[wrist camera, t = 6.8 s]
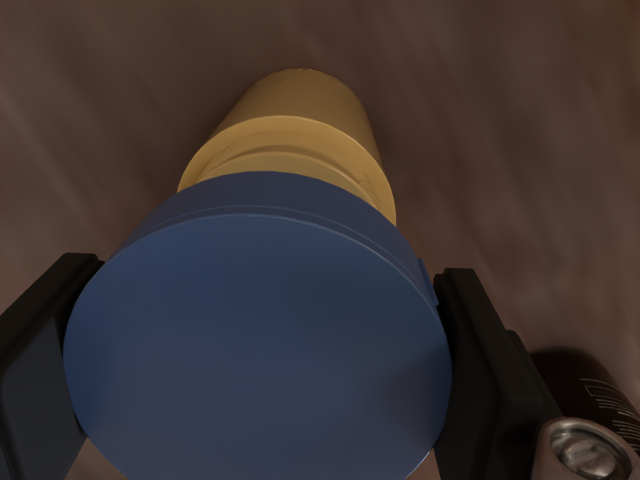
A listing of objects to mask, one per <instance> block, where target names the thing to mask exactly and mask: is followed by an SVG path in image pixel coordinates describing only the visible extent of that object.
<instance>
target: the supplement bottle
mask: <svg viewBox="0 0 640 480" xmlns="http://www.w3.org/2000/svg"><path fill="white" fill-rule="evenodd" d="M531 359H532V361H533V363H534V364H535V366H536V368H537V370H538V372H539V373H540V375H541V377H542V379H543V380H544V382H545V384H546V386H547V388H548V389H549V391H550V393H551V395H552V396H553V398H554V400H555V402H556V403H557V405H558V407H559V409H560V411H561V412H562V414H563V416H564V417H577V418H582V419H586V420H590V421H593V422H595V423H597V424H600V425H602V426H604V427H606V428H608V429H610V430H611V431H613V432H614V433H616V434H617V435H619V436H620V437H622V438H623V439H624V440H625V441H626V442H627V443H628V444H629V445H630V446H631V447H632V448H633V449H634V451H635V452H636V454H637V455H638V456H639V458H640V415H639V413H638V412H637V411H636V409H635V408H634V406H633V405H632V404H631V402H630V401H629V399H628V398H627V397H626V395H625V394H624V392H623V391H622V390H621V388H620V387H619V386H618V384H617V383H616V382H615V380H614V379H613V377H612V376H611V375H610V374H609V372H608V371H607V370H606V369H605V368H604V367H603V366H602V365H601V364H599V363H598V362H597V361H595V360H593V359H591V358H589V357H587V356H584V355H581V354H577V353H572V352H549V353H543V354H539V355H536V356H533V357H531Z"/></svg>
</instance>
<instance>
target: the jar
mask: <svg viewBox="0 0 640 480" xmlns="http://www.w3.org/2000/svg"><path fill="white" fill-rule="evenodd" d="M246 171H277V172H287V173H295V174H300V175H304V176H308V177H312V178H316V179H320V180H322V181H325V182H328V183H330V184H333V185H336V186H338V187H341V188H343V189H345V190H346V191H348V192H350V193H352V194H354V195H356V196H358V197H360V198H361V199H363V200H364V201H366V202H367V203H368V204H370V205H371V206H373V207H374V208H375V209H377V210H378V211H379V212H381V213H382V214H383V215H384V216H385V217H386V218H387V219H388V220H389V221H390V222H391V223H392V224H393V225H394V226H395V227H396V210H395V203H394V198H393V195H392V191H391V188H390V185H389V182H388V178H387V175H386V172H385V169H384V166H383V163H382V160H381V156H380V153H379V150H378V147H377V144H376V141H375V138H374V134H373V131H372V128H371V125H370V122H369V119H368V116H367V113H366V111H365V109H364V107H363V105H362V104H361V102H360V100H359V99H358V98H357V96H356V95H355V94H354V93H353V92H352V91H351V90H350V89H349V88H348V87H347V86H346V85H345V84H343V83H342V82H341V81H339V80H338V79H336V78H334V77H332V76H330V75H328V74H326V73H323V72H320V71H316V70H311V69H302V68H295V69H286V70H281V71H278V72H275V73H272V74H269V75H268V76H266V77H264V78H262V79H260V80H259V81H258V82H256V83H255V84H253V85H252V86H251V87H250V88H249V89H248V90H247V91H246V92H245V93H244V95H243V96H242V97H241V98H240V100H239V101H238V102H237V103H236V105H235V106H234V107H233V108H232V110H231V111H230V112H229V113H228V115H227V116H226V117H225V118H224V119H223V121H222V122H221V123H220V124H219V126H218V127H217V128H216V129H215V131H214V132H213V133H212V134H211V136H210V137H209V138H208V139H207V141H206V142H205V143H204V144H203V145H202V147H201V148H200V149H199V150H198V152H197V153H196V154H195V156H194V157H193V158H192V159H191V161H190V162H189V164H188V166H187V168H186V169H185V171H184V173H183V175H182V178H181V180H180V183H179V186H178V190H177V193H178V192H179V191H181V190H183V189H185V188H187V187H190V186H192V185H194V184H196V183H199V182H201V181H204V180H207V179H211V178H214V177H218V176H221V175H226V174H232V173H239V172H246Z"/></svg>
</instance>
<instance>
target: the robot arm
mask: <svg viewBox="0 0 640 480" xmlns="http://www.w3.org/2000/svg"><path fill="white" fill-rule="evenodd" d="M104 263H105V262H104V261H99V259H98V257H97V256H96V255H95V254H88V253H65V254H63V255H62V256H61V257H60V258H59V259H58V260H57V261H56V262H55V263H54V264H53V265H52V266H51V267H50V268H49V269H48V270H47V271H46V272H45V273H44V274H43V275H42V276H41V277H40V278H39V279H37V280H36V281H35V282H34V283H33V284H32V285H31V286H30V287H29V288H28V289H27V290H26V291H25V292H24V293H23V294H22V295H21V296H20V297H19V298H18V299H17V300H16V301H15V302H14V303H13V304H12V305H11V306H10V307H9V308H8V309H6V310H5V311H4V312H3V313H2V314H1V315H0V480H64V478H65V477H66V475H67V473H68V471H69V469H70V467H71V466H72V464H73V462H74V460H75V458H76V457H77V455H78V453H79V451H80V449H81V447H82V446H83V444H84V442H85V440H86V438H87V435H86V433H85V432H84V430H83V428H82V427H81V425H80V424H79V422H78V420H77V417H76V415H75V413H74V411H73V407H72V403H71V398H70V394H69V389H68V384H67V380H66V375H65V370H64V365H63V341H64V337H65V332H66V327H67V322H68V320H69V317H70V315H71V312H72V310H73V307H74V305H75V302H76V301H77V299H78V297H79V296H80V294H81V293H82V291H83V289H84V288H85V286H86V284H87V283H88V282H89V281H90V279H91V278H92V277H93V276H94V275H95V274H96V273H97V271H98V270H99V269H100V268H101V267H102V266H103V264H104ZM433 289H434V292H435V294H436V297H437V300H438V303H439V305H436V309H437V311H438V314H439V317H440V320H441V323H442V326H443V329H444V331H445V334H446V337H447V340H448V344H449V349H450V353H451V357H452V365H453V379H452V385H451V391H450V396H449V402H448V407H447V413H446V418H445V423H444V427H443V429H442V431H441V433H440V436H439V438H438V440H437V441H436V443H435V444H434V446H433V448H434V452H435V457H436V461H437V465H438V469H439V474H440V478H441V480H640V458H639V456H638V455H637V454H636V452H635V451H634V449H633V448H632V447H631V446H630V445H629V444H628V443H627V442H626V441H625V440H624V439H623V438H622V437H620V436H619V435H617V434H616V433H614V432H613V431H611V430H610V429H608V428H606V427H604V426H602V425H600V424H597V423H595V422H593V421H590V420H586V419H582V418H577V417H564V416H563V414H562V412H561V411H560V409H559V407H558V405H557V403H556V402H555V400H554V398H553V396H552V395H551V393H550V391H549V389H548V388H547V386H546V384H545V382H544V380H543V379H542V377H541V375H540V373H539V372H538V370H537V368H536V366H535V364H534V363H533V361H532V359H531V357H530V356H529V354H528V352H527V350H526V349H525V347H524V345H523V343H522V341H521V340H520V338H519V336H518V335H517V334H516V332H515V331H512V330H506V329H505V327H504V325H503V324H502V322H501V320H500V318H499V316H498V314H497V312H496V311H495V309H494V307H493V305H492V303H491V301H490V299H489V298H488V296H487V294H486V292H485V290H484V288H483V286H482V284H481V283H480V281H479V279H478V277H477V275H476V273H475V271H474V270H473V269H465V268H445V269H444V272H443V274H436V275H435V277H434V281H433Z"/></svg>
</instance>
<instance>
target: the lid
mask: <svg viewBox="0 0 640 480" xmlns="http://www.w3.org/2000/svg"><path fill="white" fill-rule="evenodd" d="M436 305H439V303H438V300H437V297H436V294H435V292H434V289H433V286H432V284H431V281H430V278H429V275H428V273H427V270H426V267H425V264H424V262H423V260H422V258H420V259H418V258H417V257H416V255H415V253H414V251H413V250H412V248H411V246H410V245H409V243H408V242H407V240H406V239H405V238H404V237H403V235H402V234H401V233H400V232H399V230H398V229H397V228H396V227H395V226H394V225H393V224H392V223H391V222H390V221H389V220H388V219H387V218H386V217H385V216H384V215H383V214H382V213H381V212H379V211H378V210H377V209H375V208H374V207H373V206H371V205H370V204H368V203H367V202H366V201H364V200H363V199H361V198H360V197H358V196H356V195H354V194H352V193H350V192H348V191H346V190H345V189H343V188H341V187H338V186H336V185H333V184H330V183H328V182H325V181H322V180H320V179H316V178H312V177H308V176H304V175H300V174H295V173H287V172H277V171H246V172H239V173H232V174H226V175H221V176H218V177H214V178H211V179H207V180H204V181H201V182H199V183H196V184H194V185H192V186H190V187H187V188H185V189H183V190H181V191H179V192H178V193H176V194H174V195H173V196H171V197H170V198H168V199H166V200H165V201H163V202H162V203H161V204H160V205H158V206H157V207H156V208H155V209H154V210H153V211H151V212H150V213H149V214H148V215H147V216H146V217H145V218H144V219H143V220H142V222H141V223H140V224H139V225H138V226H137V227H136V228H135V229H134V231H133V232H132V233H131V234H130V235H129V236H128V237H127V239H126V240H125V241H124V242H123V243H122V244H121V245H120V246H119V248H118V249H117V250H116V251H115V252H114V253H113V254H112V255H111V257H110V258H109V259H108V260H107V261H106V262H105V263H104V264H103V266H102V267H101V268H100V269H99V270H98V271H97V273H96V274H95V275H94V276H93V277H92V278H91V279H90V281H89V282H88V283H87V284H86V286H85V288H84V289H83V291H82V293H81V294H80V296H79V297H78V299H77V301H76V302H75V305H74V307H73V310H72V312H71V315H70V317H69V320H68V322H67V327H66V332H65V337H64V341H63V365H64V370H65V375H66V380H67V384H68V389H69V394H70V398H71V403H72V407H73V411H74V413H75V415H76V417H77V420H78V422H79V424H80V425H81V427H82V428H83V430H84V432H85V433H86V435H87V436H88V438H89V439H90V441H91V442H92V443H93V445H94V446H95V447H96V448H97V449H98V451H99V452H100V453H101V454H102V455H103V457H104V458H105V459H106V460H108V461H109V462H110V463H111V464H112V465H113V466H114V467H115V468H116V469H117V470H118V471H119V472H120V473H122V474H123V475H124V476H126V477H127V478H128V479H130V480H404V479H405V478H407V477H408V476H409V475H410V474H411V473H412V472H413V471H414V470H415V469H416V468H417V467H418V466H419V465H420V463H421V462H422V461H423V460H424V459H425V458H426V457H427V455H428V454H429V452H430V451H431V449H432V448H433V446H434V444H435V443H436V441H437V440H438V438H439V436H440V433H441V431H442V429H443V427H444V423H445V418H446V413H447V407H448V402H449V396H450V391H451V385H452V379H453V365H452V357H451V353H450V349H449V344H448V340H447V337H446V334H445V331H444V329H443V326H442V323H441V320H440V317H439V314H438V311H437V309H436Z"/></svg>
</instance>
